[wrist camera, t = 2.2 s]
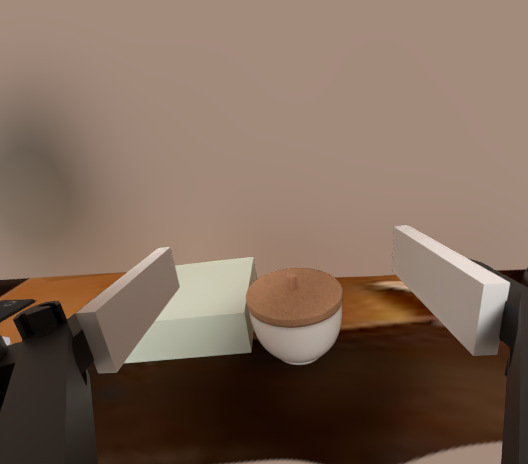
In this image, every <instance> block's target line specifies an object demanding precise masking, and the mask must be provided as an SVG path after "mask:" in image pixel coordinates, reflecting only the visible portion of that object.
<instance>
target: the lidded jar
mask: <svg viewBox="0 0 528 464" xmlns="http://www.w3.org/2000/svg"><path fill="white" fill-rule="evenodd" d="M342 301H343V289H342V286H341V284H340V283H339V282H338V280H336V279H335V278H334V277H333V276H331V275H329V274H327V273H325V272H322V271H319V270H314V269H308V268H291V269H283V270H279V271H275V272H271V273H269V274H267V275H264V276H262V277H260V278H259V279H257V280H256V281H255V282H253V283H252V285H251V286H250V287H249V289H248V290H247V293H246V303H247V307H248V310H249V314H250V319H251V323H252V326H253V329H254V332H255V334H256V336H257V338H258V340H259V341H260V343H261V344H262V345H263V347H264V348H265V349H266V350H267V351H268V352H269V353H271V354H272V355H273V356H275V357H277V358H279V359H281V360H282V361H284V362H286V363H289V364H293V365H305V364H309V363H312V362H314V361H316V360H317V359H318V358H320V357H321V356H322V355H324V354H325V353H326V352H327V351H328V350H329V349H330V348H331V347H332V346H333V344H334V343H335V341H336V339H337V337H338V334H339V331H340V327H341V322H342Z"/></svg>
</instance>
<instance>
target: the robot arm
mask: <svg viewBox="0 0 528 464" xmlns="http://www.w3.org/2000/svg"><path fill="white" fill-rule="evenodd" d="M392 271H393V272H394V273H395V274H396V275H397V276H398V277H399V278H400V280H401V281H402V282H403V283H404V284H405V285H406V286H407V287H408V288H409V289H410V290H411V291H412V292H413V293H414V294H415V295H416V296H417V297H418V298H419V299H420V300H421V301H422V303H423V304H424V305H425V306H426V307H427V308H428V309H429V310H430V311H431V312H432V313H433V314H434V315H435V316H436V317H437V318H438V319H439V320H440V321H441V322H442V323H443V324H444V326H445V327H446V328H447V329H448V330H449V331H450V332H451V333H452V334H453V335H454V336H455V337H456V338H457V339H458V340H459V341H460V342H461V343H462V344H463V345H464V346H465V347H466V349H467V350H468V351H469V352H470V353H471V354H472V355H473V356H475V355H496V354H497V352H498V346H499V341H500V340H502V341H503V342H504V343H505V344H506V345H508V346H509V347H510V351H509V356H508V361H507V366H506V371H505V376H507V384H506V399H505V414H504V429H503V444H502V459H501V464H528V268H527V269H526V270H525V272H524V274H523V278H522V283H521V284H520V283H519V282H517V281H515V280H513V279H511V278H509V277H507V276H506V275H502V273H500V272H498V271H496V270H493V269H492V268H491V267H489V266H487V265H485V264H483V263H481V262H478V261H475V260H472V259H469V258H468V259H467V258H465V257H464V256H462V255H460V254H458V253H456V252H455V251H453V250H451V249H449V248H447V247H446V246H444V245H442V244H440V243H439V242H437V241H435V240H433V239H432V238H430V237H428V236H426V235H424V234H423V233H421V232H419V231H417V230H416V229H414V228H412V227H410V226H408V225H403V226H394V228H393V258H392ZM179 288H180V285H179V281H178V277H177V272H176V268H175V264H174V260H173V256H172V252H171V248H170V247H165V248H158V249H157V250H155V251H154V252H153V253H152V254H150V255H149V256H148V257H147V258H145V259H144V260H143V261H141V262H140V263H139V264H138V265H136V266H135V267H134V268H132V269H131V270H130V271H129V272H127V273H126V274H125V275H124V276H122V277H121V278H120V279H118V280H117V281H116V282H115V283H113V284H112V285H111V286H110V287H108V288H107V289H106V290H104V291H103V292H102V293H100V294H99V295H98V296H96V297H95V298H94V299H93V300H92V301H90V302H89V303H87V304H86V305H85V306H84V307H82V308H81V309H80V310H79V311H77V312H76V313H75V314H73V315H72V316H71V317H70V318H68V319H66V316H65V314H64V311H63V309H62V306H61V304H60V302H59V301H50V302H45V303H42V304H38V305H36V306H33V307H31V308H29V309H27V310H25V311H23V312H21V313H20V314H18V315H17V316H16V317H15V318H14V319H13V320H14V323H15V325H16V327H17V329H18V331H19V333H20V335H21V337H22V342H19V343H15V344H11V345H6V343H5V341H4V339H3V337H2V336H1V335H0V464H98V462H97V451H96V440H95V430H94V419H93V408H92V397H91V386H90V376H89V374H88V371H87V368H88V367H89V366H90V364H91V363H92V362H93V361H94V363H95V365H96V368H97V371H98V373H113V372H117V371H118V370H119V369H120V367H121V366H122V365H123V363H124V362H125V360H126V359H127V358H128V356H129V355H130V354H131V352H132V351H133V350H134V348H135V347H136V346H137V344H138V343H139V342H140V340H141V339H142V338H143V336H144V335H145V334H146V332H147V331H148V330H149V328H150V327H151V325H152V324H153V323H154V321H155V320H156V319H157V317H158V316H159V315H160V313H161V312H162V311H163V309H164V308H165V307H166V305H167V304H168V303H169V301H170V300H171V299H172V297H173V296H174V294H175V293H176V292H177V290H178V289H179Z"/></svg>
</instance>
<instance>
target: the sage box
mask: <svg viewBox="0 0 528 464" xmlns="http://www.w3.org/2000/svg"><path fill="white" fill-rule="evenodd" d="M175 268H176V272H177V277H178V281H179V285H180V288H179V289H178V290H177V292H176V293H175V294H174V296H173V297H172V299H171V300H170V301H169V303H168V304H167V305H166V307H165V308H164V309H163V311H162V312H161V313H160V315H159V316H158V317H157V319H156V320H155V321H154V323H153V324H152V325H151V327H150V328H149V330H148V331H147V332H146V334H145V335H144V336H143V338H142V339H141V340H140V342H139V343H138V344H137V346H136V347H135V348H134V350H133V351H132V352H131V354H130V355H129V356H128V358H127V359H126V360H125V362H124V363H132V362H144V361H156V360H168V359H180V358H192V357H204V356H216V355H228V354H240V353H251V352H252V342H253V332H254V329H253V326H252V323H251V319H250V314H249V310H248V307H247V303H246V293H247V290H248V289H249V287H250V286H251V285H252V283H253V282H255V281H256V280H257V276H256V269H255V264H254V257H248V258H239V259H231V260H222V261H213V262H203V263H194V264H185V265H177V266H175Z"/></svg>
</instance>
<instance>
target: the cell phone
mask: <svg viewBox="0 0 528 464" xmlns="http://www.w3.org/2000/svg"><path fill="white" fill-rule="evenodd" d="M34 302H35V301H34V299H27V300H3V301H0V322H1V321H3V320H5V319H7V318H8V317H10V316H12V315H14V314H15V313H17V312H19V311H21V310H22V309H24V308H26V307H28V306H29V305H31V304H33V303H34Z"/></svg>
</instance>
